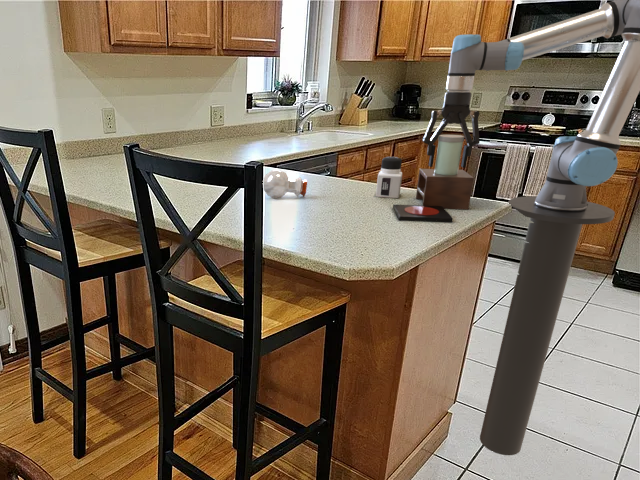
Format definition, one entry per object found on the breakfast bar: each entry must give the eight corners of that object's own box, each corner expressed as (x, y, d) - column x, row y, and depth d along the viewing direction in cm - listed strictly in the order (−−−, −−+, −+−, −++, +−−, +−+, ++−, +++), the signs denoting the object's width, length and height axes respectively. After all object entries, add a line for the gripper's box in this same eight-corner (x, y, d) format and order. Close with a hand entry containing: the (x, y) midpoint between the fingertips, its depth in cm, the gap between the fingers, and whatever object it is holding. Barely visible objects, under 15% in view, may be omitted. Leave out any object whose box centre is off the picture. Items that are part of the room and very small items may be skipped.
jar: (455, 171, 172) (461, 134, 167) (460, 175, 165) (467, 137, 160) (431, 170, 173) (436, 134, 168) (435, 174, 166) (441, 137, 161)
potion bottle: (259, 200, 183) (301, 205, 184) (262, 189, 173) (307, 194, 174) (261, 175, 185) (303, 180, 186) (265, 163, 175) (309, 168, 176)
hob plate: (441, 209, 166) (442, 205, 165) (452, 222, 152) (452, 217, 151) (392, 208, 167) (393, 203, 167) (398, 220, 154) (399, 215, 153)
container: (398, 198, 180) (403, 159, 174) (375, 196, 182) (379, 158, 177) (399, 193, 186) (404, 156, 181) (377, 192, 189) (381, 155, 183)
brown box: (458, 199, 178) (463, 169, 174) (468, 209, 166) (474, 177, 162) (415, 198, 180) (419, 168, 176) (422, 208, 168) (427, 176, 164)
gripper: (493, 91, 161) (479, 165, 170) (419, 90, 164) (409, 163, 173) (500, 92, 154) (486, 169, 163) (423, 91, 157) (413, 167, 166)
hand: (446, 166), depth 168 cm, fingers open, 9 cm apart
